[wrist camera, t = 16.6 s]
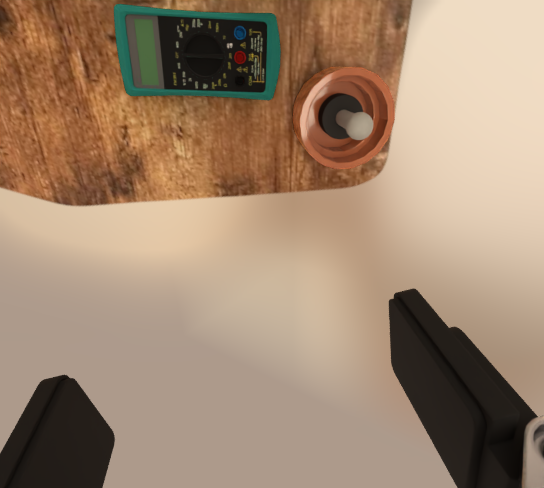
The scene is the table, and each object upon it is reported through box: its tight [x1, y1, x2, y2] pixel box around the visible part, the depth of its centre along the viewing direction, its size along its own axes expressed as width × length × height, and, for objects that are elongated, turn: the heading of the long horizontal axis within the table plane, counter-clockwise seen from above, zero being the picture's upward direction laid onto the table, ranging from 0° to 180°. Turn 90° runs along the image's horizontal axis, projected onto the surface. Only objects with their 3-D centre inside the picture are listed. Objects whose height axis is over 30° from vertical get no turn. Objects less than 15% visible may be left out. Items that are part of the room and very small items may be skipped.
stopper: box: [318, 93, 373, 140], centre depth 34 cm, size 4×4×8 cm
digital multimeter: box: [114, 4, 281, 100], centre depth 33 cm, size 7×15×3 cm, turn 88°
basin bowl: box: [292, 66, 394, 169], centre depth 36 cm, size 9×10×5 cm
